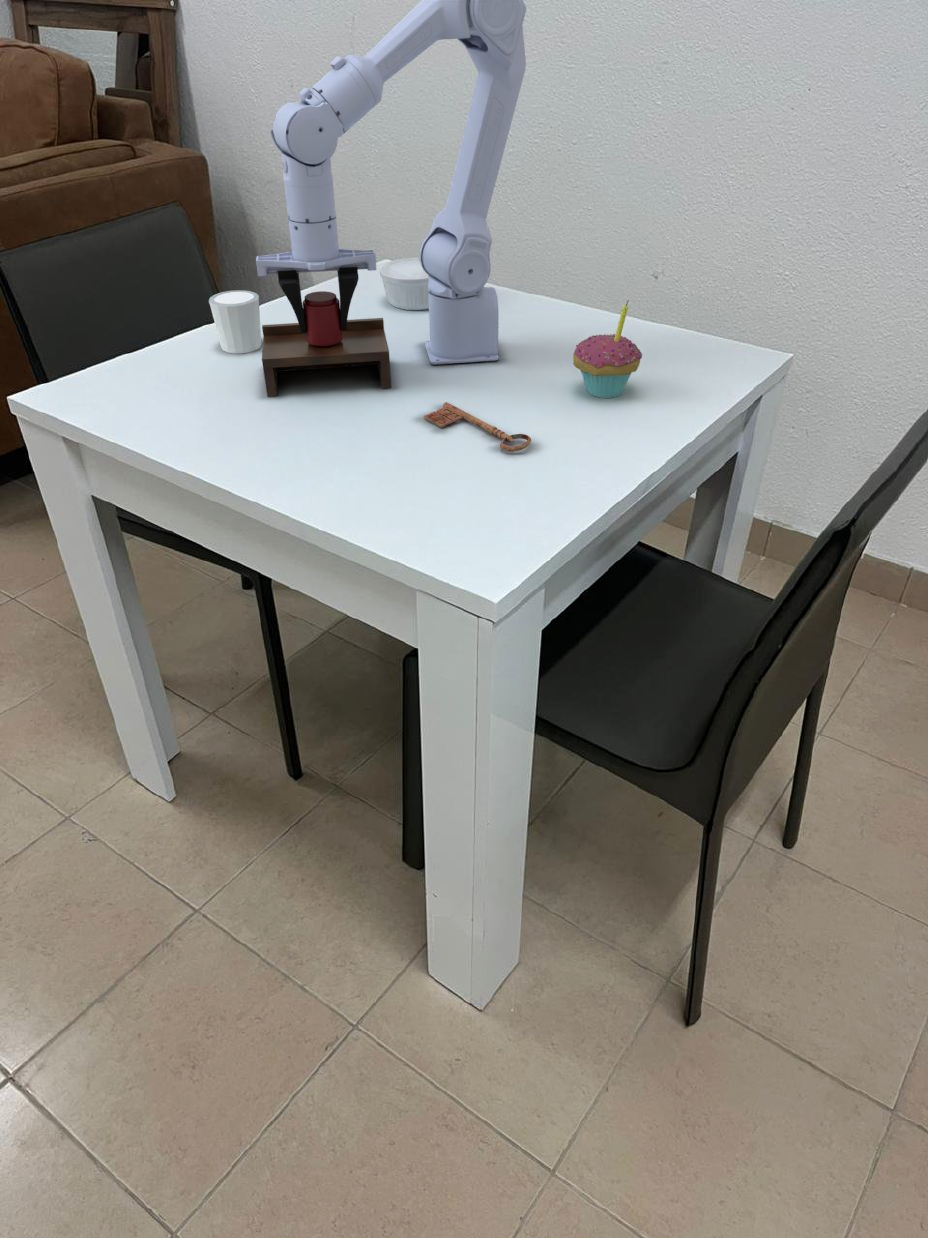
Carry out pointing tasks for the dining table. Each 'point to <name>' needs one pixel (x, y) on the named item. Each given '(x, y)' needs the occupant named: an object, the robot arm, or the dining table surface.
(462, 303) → the robot arm
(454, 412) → the key
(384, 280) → the ramekin
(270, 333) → the shelf
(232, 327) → the white cup
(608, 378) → the cupcake
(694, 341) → the dining table surface
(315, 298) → the red lidded jar
